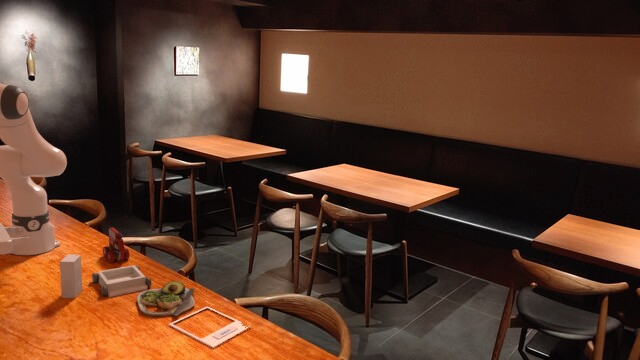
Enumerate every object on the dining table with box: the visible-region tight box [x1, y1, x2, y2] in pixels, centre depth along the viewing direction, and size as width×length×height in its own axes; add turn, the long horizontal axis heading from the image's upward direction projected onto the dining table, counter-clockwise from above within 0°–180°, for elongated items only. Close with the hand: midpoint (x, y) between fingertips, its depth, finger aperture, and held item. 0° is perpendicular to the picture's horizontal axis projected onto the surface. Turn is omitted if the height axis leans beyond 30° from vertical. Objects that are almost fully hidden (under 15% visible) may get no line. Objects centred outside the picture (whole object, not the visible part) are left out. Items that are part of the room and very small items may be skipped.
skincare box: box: [59, 253, 83, 299], centre depth 156 cm, size 6×4×12 cm
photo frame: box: [168, 306, 252, 349], centre depth 145 cm, size 15×1×18 cm
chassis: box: [91, 264, 152, 298], centre depth 166 cm, size 15×15×4 cm
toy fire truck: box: [102, 227, 130, 263], centre depth 186 cm, size 7×12×10 cm, turn 40°
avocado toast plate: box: [136, 280, 196, 317], centre depth 155 cm, size 19×18×5 cm
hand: (25, 234), depth 146 cm, fingers open, 8 cm apart
